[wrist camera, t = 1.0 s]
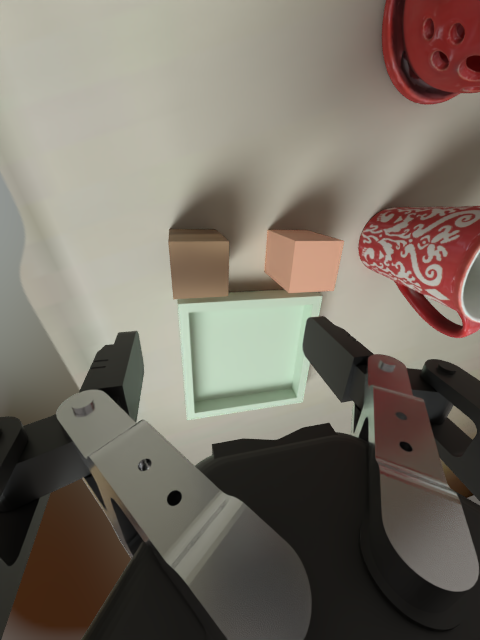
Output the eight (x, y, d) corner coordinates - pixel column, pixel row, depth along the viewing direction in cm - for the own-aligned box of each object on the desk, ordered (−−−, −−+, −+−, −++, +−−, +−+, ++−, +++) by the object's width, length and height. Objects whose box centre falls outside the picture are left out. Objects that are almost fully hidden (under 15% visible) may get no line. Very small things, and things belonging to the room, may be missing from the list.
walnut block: (169, 229, 25) (168, 241, 19) (215, 229, 26) (229, 241, 20) (173, 274, 27) (173, 299, 21) (216, 273, 28) (228, 296, 22)
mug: (349, 209, 28) (476, 223, 16) (421, 188, 29) (593, 186, 17) (350, 309, 34) (444, 371, 22) (410, 289, 35) (531, 339, 23)
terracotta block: (267, 229, 27) (295, 241, 21) (306, 230, 28) (344, 240, 22) (264, 271, 29) (288, 293, 23) (300, 270, 30) (333, 290, 24)
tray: (177, 294, 28) (177, 304, 25) (311, 288, 31) (322, 295, 29) (186, 405, 35) (187, 420, 32) (294, 389, 38) (302, 402, 36)
